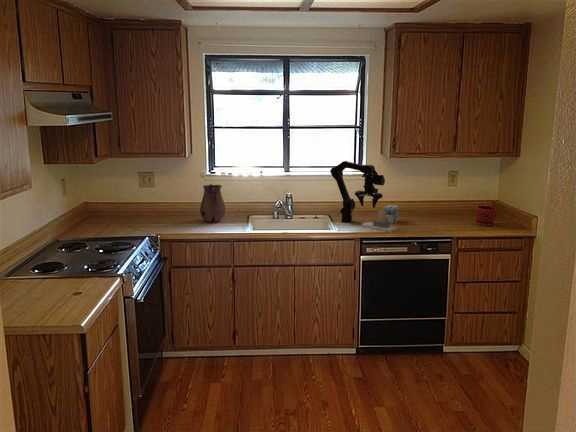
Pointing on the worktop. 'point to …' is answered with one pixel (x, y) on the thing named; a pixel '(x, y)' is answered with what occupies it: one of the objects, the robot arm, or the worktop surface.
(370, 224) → the marked board
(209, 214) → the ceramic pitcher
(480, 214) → the plant pot
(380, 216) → the sanding block
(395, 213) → the light bulb box
